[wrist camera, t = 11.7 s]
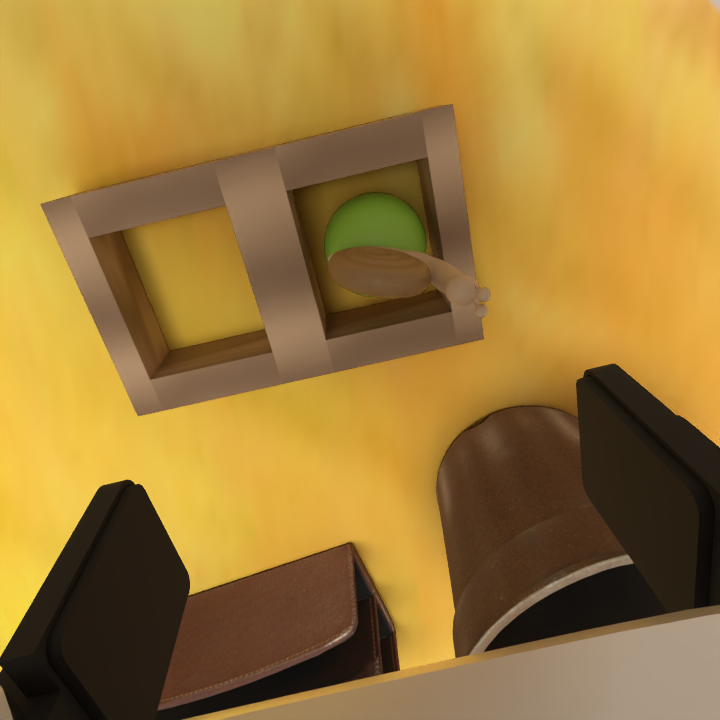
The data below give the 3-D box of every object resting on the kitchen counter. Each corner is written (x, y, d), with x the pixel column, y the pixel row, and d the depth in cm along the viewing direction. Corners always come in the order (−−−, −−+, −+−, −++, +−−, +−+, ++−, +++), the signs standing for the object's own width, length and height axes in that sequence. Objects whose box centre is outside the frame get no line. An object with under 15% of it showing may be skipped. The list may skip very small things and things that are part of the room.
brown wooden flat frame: (76, 193, 29) (40, 204, 25) (436, 106, 28) (452, 104, 25) (158, 384, 34) (137, 416, 30) (466, 314, 33) (483, 339, 30)
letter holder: (395, 623, 44) (423, 828, 31) (181, 690, 46) (124, 909, 34) (352, 538, 40) (363, 733, 27) (119, 616, 42) (28, 832, 29)
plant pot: (410, 376, 35) (470, 564, 20) (651, 369, 35) (879, 545, 21) (403, 564, 41) (444, 808, 27) (606, 555, 42) (754, 787, 28)
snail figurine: (428, 285, 32) (479, 369, 21) (322, 278, 32) (318, 361, 21) (441, 192, 30) (505, 233, 19) (327, 182, 30) (326, 220, 19)
